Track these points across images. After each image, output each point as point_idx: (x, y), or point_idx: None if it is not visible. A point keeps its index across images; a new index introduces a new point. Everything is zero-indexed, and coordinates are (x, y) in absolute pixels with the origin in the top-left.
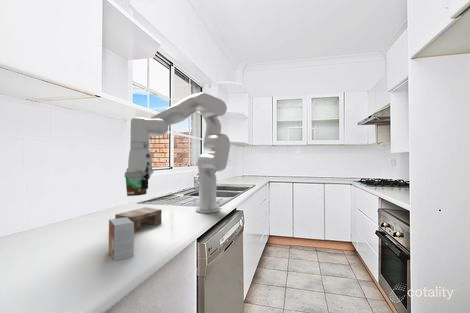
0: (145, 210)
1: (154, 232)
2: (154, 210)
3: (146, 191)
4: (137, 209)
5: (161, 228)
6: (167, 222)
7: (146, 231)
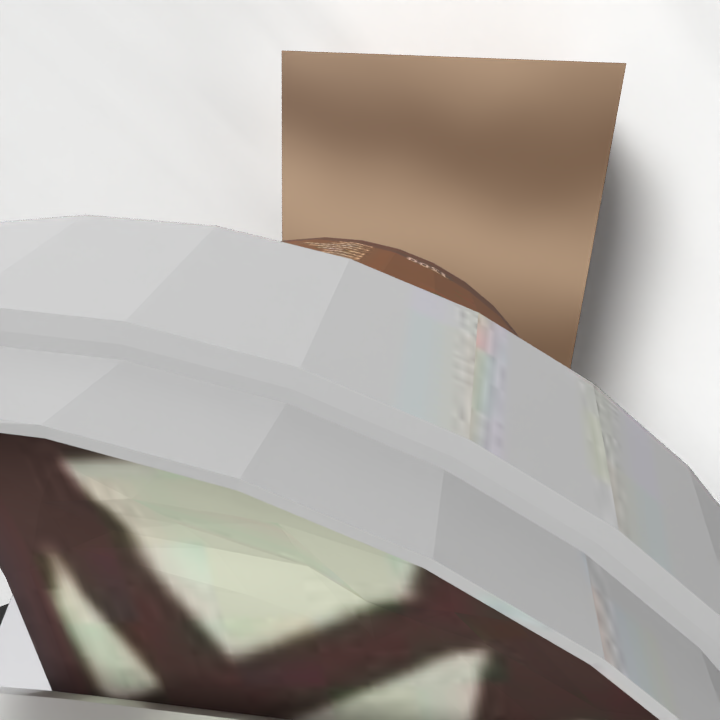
0: (439, 222)
1: (703, 373)
2: (560, 166)
3: (503, 320)
4: (299, 226)
5: (701, 252)
6: (640, 26)
7: (612, 379)
